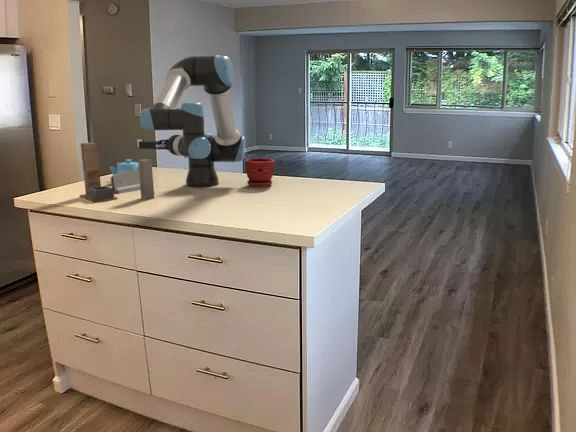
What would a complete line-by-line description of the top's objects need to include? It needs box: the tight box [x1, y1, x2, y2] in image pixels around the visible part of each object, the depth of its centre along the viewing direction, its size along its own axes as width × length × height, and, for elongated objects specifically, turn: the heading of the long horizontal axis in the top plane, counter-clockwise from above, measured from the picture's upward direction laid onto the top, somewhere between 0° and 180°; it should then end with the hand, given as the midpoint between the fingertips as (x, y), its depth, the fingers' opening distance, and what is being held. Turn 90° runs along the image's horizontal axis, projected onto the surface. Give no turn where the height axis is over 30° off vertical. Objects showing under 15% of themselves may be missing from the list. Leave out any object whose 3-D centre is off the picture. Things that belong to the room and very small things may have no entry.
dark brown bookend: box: [79, 142, 118, 203], centre depth 238 cm, size 17×10×23 cm, turn 40°
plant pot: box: [245, 158, 275, 188], centre depth 261 cm, size 13×13×12 cm
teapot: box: [109, 158, 139, 176], centre depth 276 cm, size 15×15×11 cm
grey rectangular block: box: [137, 158, 155, 200], centre depth 236 cm, size 4×4×16 cm
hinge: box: [110, 170, 141, 194], centre depth 256 cm, size 17×5×10 cm, turn 138°
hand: (154, 141), depth 225 cm, fingers open, 13 cm apart
